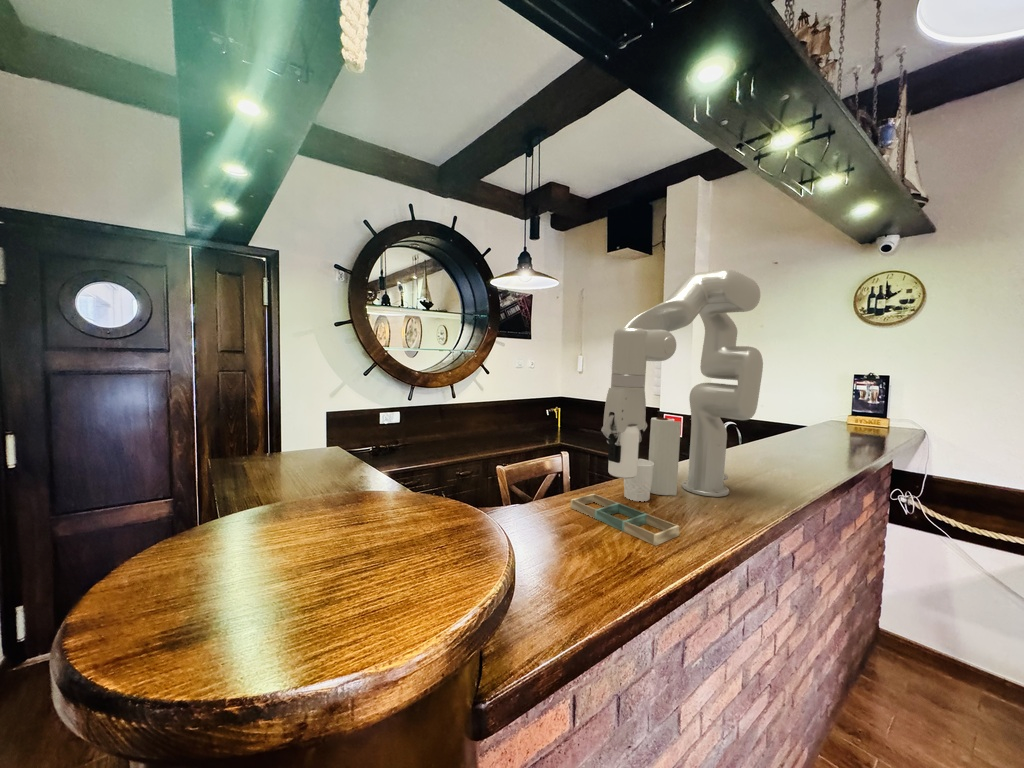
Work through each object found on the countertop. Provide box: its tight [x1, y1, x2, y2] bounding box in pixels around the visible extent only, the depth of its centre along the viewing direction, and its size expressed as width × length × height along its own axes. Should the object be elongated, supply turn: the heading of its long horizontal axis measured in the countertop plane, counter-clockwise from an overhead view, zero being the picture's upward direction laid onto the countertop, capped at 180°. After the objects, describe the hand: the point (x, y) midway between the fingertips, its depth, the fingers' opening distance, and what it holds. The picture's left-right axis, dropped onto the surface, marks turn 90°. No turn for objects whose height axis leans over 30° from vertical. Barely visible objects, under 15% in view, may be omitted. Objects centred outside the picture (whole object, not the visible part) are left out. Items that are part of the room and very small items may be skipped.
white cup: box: [623, 458, 654, 503], centre depth 114 cm, size 8×8×10 cm
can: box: [607, 424, 640, 479], centre depth 96 cm, size 6×6×12 cm
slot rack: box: [570, 493, 681, 547], centre depth 98 cm, size 9×25×2 cm, turn 37°
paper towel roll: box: [648, 417, 682, 496], centre depth 119 cm, size 7×6×21 cm
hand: (623, 459), depth 97 cm, fingers closed on can, 5 cm apart
